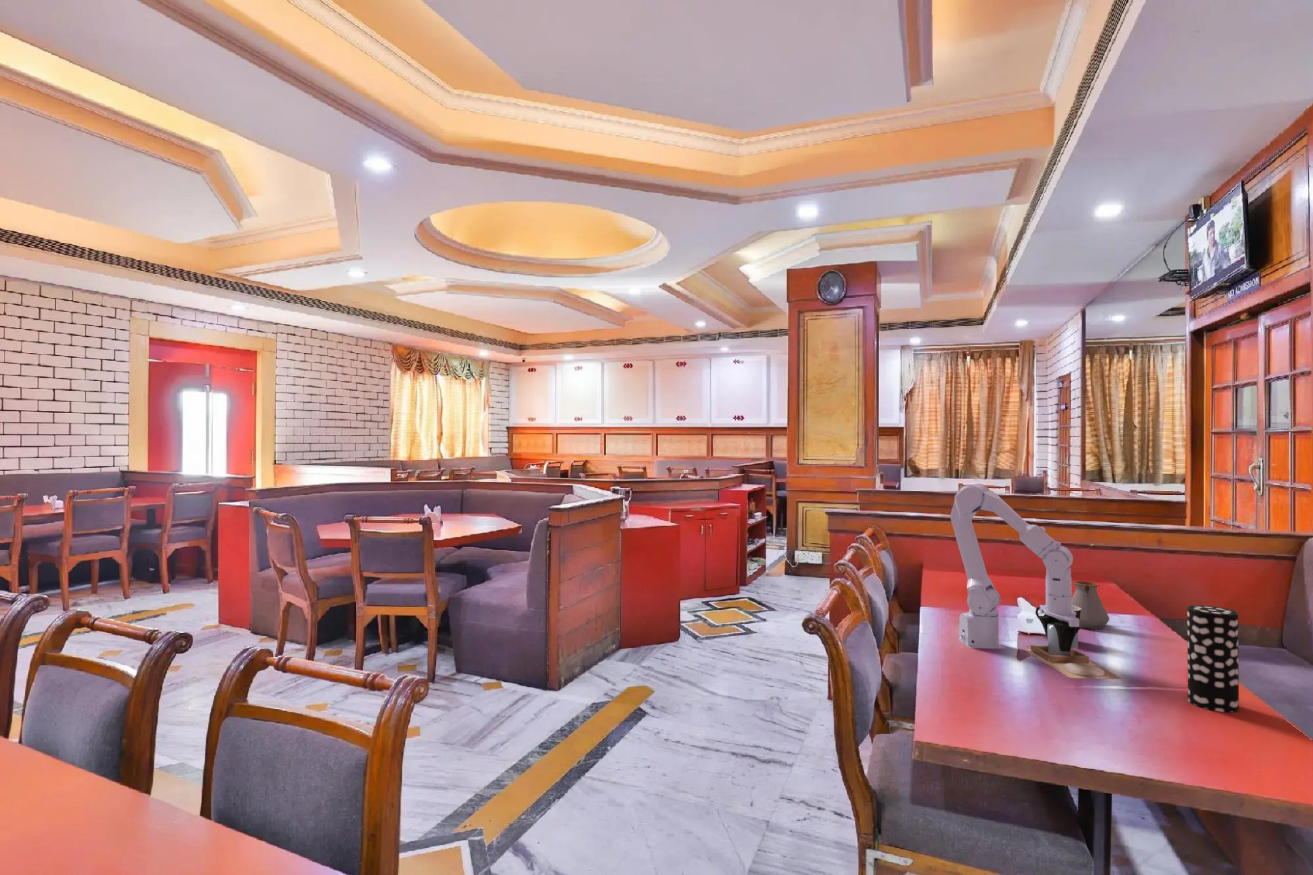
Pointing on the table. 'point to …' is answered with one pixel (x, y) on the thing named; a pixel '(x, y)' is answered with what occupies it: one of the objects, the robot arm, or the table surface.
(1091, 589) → the coffee pot
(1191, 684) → the white-spotted black cylinder
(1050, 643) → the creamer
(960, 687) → the table surface
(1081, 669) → the jug board
